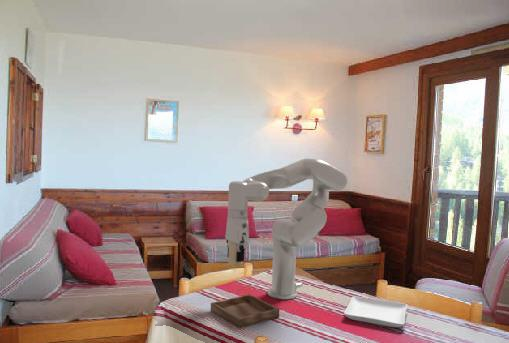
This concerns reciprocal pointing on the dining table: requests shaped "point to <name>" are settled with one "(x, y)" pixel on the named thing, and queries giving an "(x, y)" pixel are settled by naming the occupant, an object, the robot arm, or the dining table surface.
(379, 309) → the salad plate
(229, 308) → the walnut tray
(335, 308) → the dining table surface
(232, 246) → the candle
